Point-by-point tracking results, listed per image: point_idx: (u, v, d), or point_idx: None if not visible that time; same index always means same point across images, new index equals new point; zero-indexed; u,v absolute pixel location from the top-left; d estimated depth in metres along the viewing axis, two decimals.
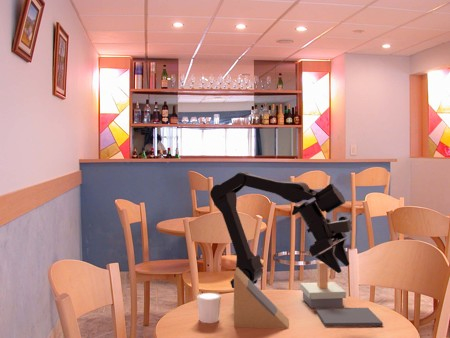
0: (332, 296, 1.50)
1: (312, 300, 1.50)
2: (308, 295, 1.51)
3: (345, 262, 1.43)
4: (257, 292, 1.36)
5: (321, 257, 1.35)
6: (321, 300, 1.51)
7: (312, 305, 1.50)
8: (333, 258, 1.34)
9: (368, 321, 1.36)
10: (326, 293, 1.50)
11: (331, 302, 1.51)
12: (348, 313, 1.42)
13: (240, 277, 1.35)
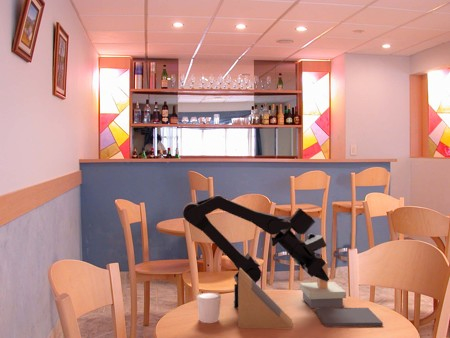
0: (332, 296, 1.50)
1: (312, 300, 1.50)
2: (308, 295, 1.51)
3: None
4: (261, 293, 1.36)
5: None
6: (321, 300, 1.51)
7: (312, 305, 1.50)
8: (322, 270, 1.52)
9: (368, 321, 1.36)
10: (326, 293, 1.50)
11: (331, 302, 1.51)
12: (348, 313, 1.42)
13: (244, 278, 1.34)
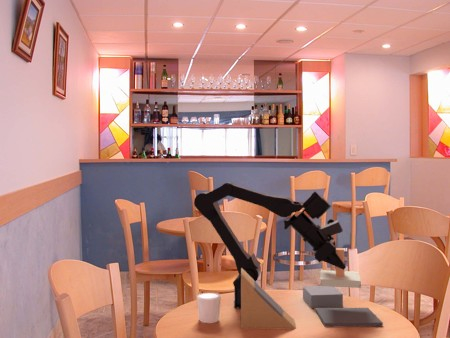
0: (345, 285, 1.41)
1: (312, 300, 1.50)
2: None
3: None
4: (263, 293, 1.36)
5: (326, 259, 1.44)
6: (321, 300, 1.51)
7: (312, 305, 1.50)
8: (337, 257, 1.44)
9: (368, 321, 1.36)
10: (339, 281, 1.42)
11: (331, 302, 1.51)
12: (348, 313, 1.42)
13: (247, 278, 1.34)
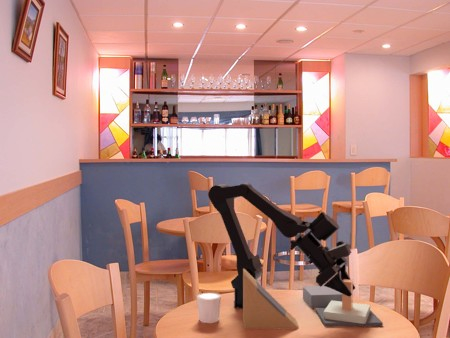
0: (349, 319, 1.35)
1: (312, 300, 1.50)
2: None
3: None
4: (266, 293, 1.35)
5: (329, 284, 1.37)
6: (321, 300, 1.51)
7: (312, 305, 1.50)
8: (341, 283, 1.37)
9: (368, 321, 1.36)
10: (342, 315, 1.36)
11: None
12: None
13: (250, 279, 1.34)
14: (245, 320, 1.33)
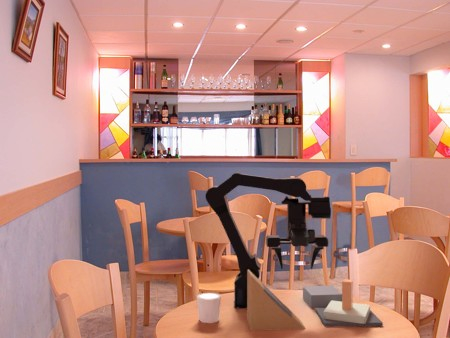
0: (349, 319, 1.35)
1: (312, 300, 1.50)
2: None
3: (310, 264, 1.51)
4: (272, 294, 1.35)
5: None
6: (321, 300, 1.51)
7: (312, 305, 1.50)
8: None
9: (368, 321, 1.36)
10: (342, 315, 1.36)
11: None
12: None
13: (256, 279, 1.33)
14: (252, 321, 1.32)
